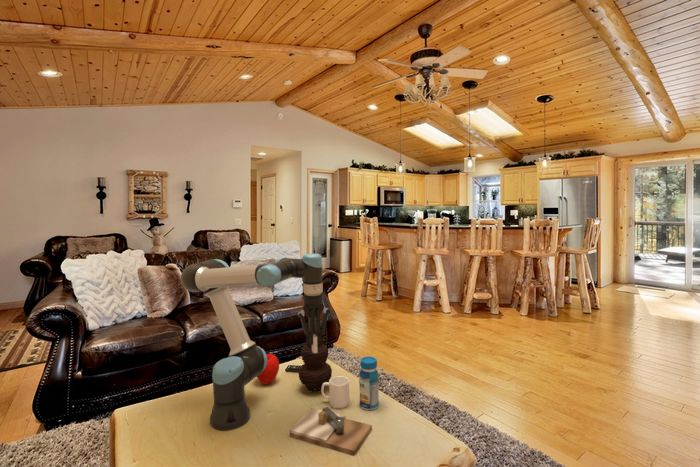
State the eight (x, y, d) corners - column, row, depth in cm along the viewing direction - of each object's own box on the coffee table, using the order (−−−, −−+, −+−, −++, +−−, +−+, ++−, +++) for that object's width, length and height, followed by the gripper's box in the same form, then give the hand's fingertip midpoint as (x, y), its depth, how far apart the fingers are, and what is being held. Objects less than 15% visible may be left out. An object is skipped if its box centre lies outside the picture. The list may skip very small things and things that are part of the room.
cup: (346, 409, 157) (346, 386, 156) (318, 407, 159) (318, 383, 158) (350, 399, 165) (350, 376, 164) (324, 396, 167) (323, 374, 166)
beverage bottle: (380, 410, 156) (379, 363, 154) (359, 411, 155) (358, 364, 154) (378, 399, 164) (378, 355, 162) (358, 400, 164) (358, 355, 162)
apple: (272, 374, 190) (271, 348, 188) (284, 382, 181) (283, 355, 179) (250, 381, 182) (249, 354, 181) (261, 391, 173) (260, 362, 172)
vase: (296, 383, 180) (294, 321, 177) (327, 378, 184) (326, 317, 182) (301, 399, 165) (300, 332, 162) (336, 393, 170) (334, 328, 167)
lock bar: (345, 433, 138) (345, 419, 138) (338, 436, 136) (338, 422, 136) (328, 417, 148) (328, 405, 148) (321, 420, 147) (321, 407, 146)
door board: (289, 436, 140) (289, 419, 139) (311, 413, 154) (311, 398, 153) (354, 455, 129) (354, 437, 128) (371, 429, 143) (371, 412, 143)
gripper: (299, 297, 143) (301, 358, 145) (332, 293, 148) (333, 352, 150) (294, 293, 149) (296, 351, 152) (325, 289, 155) (326, 345, 157)
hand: (314, 351), depth 151 cm, fingers closed
